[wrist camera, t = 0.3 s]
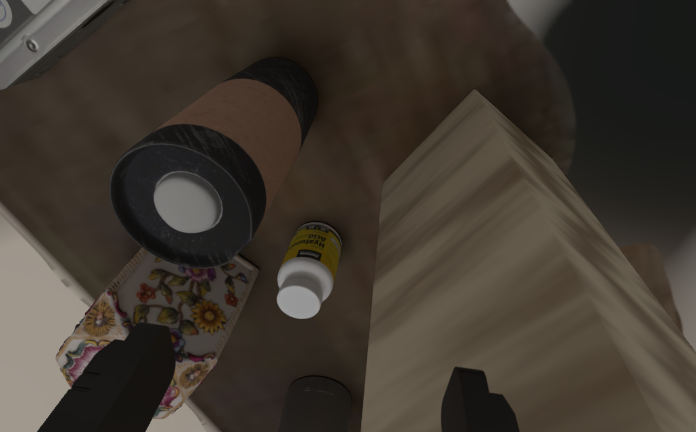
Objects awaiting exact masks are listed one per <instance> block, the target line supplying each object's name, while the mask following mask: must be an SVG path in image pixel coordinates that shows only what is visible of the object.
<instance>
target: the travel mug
mask: <svg viewBox="0 0 696 432" xmlns="http://www.w3.org/2000/svg"><path fill="white" fill-rule="evenodd" d="M317 105H318V98H317V92H316V88H315V86H314V83H313V82H312V80H311V78H310V77H309V75H308V74H307V73H306V72H305V71H304V70H303V69H302V68H301V67H300V66H298V65H297V64H295V63H293V62H291V61H289V60H286V59H282V58H267V59H263V60H261V61H258V62H256V63H254V64H253V65H251V66H249V67H247V68H246V69H244V70H242V71H241V72H239V73H237V74H236V75H234V76H232V77H230V78H229V79H227V80H225V81H224V82H222V83H220V84H219V85H217V86H215V87H214V88H213V89H211V90H210V91H208V92H207V93H206V94H204V95H203V96H202V97H200V98H199V99H198V100H196V101H195V102H193V103H192V104H191V105H189V106H188V107H187V108H185V109H184V110H182V111H181V112H180V113H178V114H177V115H176V116H174V117H173V118H171V119H170V120H169V121H167V122H166V123H165V124H163V125H162V126H160V127H159V128H158V129H156V130H155V131H154V132H152V133H151V134H149V135H148V136H147V137H145V138H144V139H143V140H141V141H140V142H138V143H137V144H136V145H134V146H133V147H132V148H130V149H129V150H128V151H127V152H126V153H124V154H123V155H122V157H121V158H120V159H119V160H118V161H117V163H116V165H115V167H114V168H113V171H112V174H111V177H110V183H109V194H110V200H111V204H112V207H113V210H114V212H115V215H116V217H117V219H118V220H119V222H120V224H121V225H122V227H123V228H124V229H125V231H126V232H127V233H128V234H129V236H130V237H131V238H132V239H133V240H134V241H135V242H136V243H138V244H139V245H140V246H141V247H142V248H144V249H145V250H146V251H148V252H149V253H151V254H152V255H154V256H156V257H158V258H160V259H162V260H164V261H166V262H169V263H171V264H174V265H178V266H182V267H187V268H195V269H207V268H215V267H219V266H223V265H225V264H227V263H228V262H229V261H230V260H232V259H233V258H234V257H235V256H236V255H237V254H238V253H239V252H240V251H241V250H243V249H244V248H245V247H246V246H247V244H248V243H249V242H250V241H251V240H252V239H253V237H254V234H255V232H256V230H257V228H258V227H259V225H260V223H261V221H262V219H263V217H264V216H265V214H266V212H267V210H268V208H269V207H270V205H271V203H272V201H273V199H274V198H275V196H276V194H277V192H278V190H279V189H280V187H281V185H282V183H283V181H284V180H285V178H286V176H287V174H288V172H289V171H290V169H291V167H292V165H293V163H294V162H295V160H296V158H297V156H298V154H299V151H300V149H301V147H302V145H303V142H304V140H305V138H306V136H307V133H308V131H309V129H310V127H311V124H312V122H313V120H314V117H315V114H316V111H317Z"/></svg>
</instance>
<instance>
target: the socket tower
mask: <svg viewBox="0 0 696 432" xmlns="http://www.w3.org/2000/svg"><path fill="white" fill-rule="evenodd" d="M456 366H457V367H464V368H471V369H478V370H483V371H484V372H485V375H486V378H487V383H488V388H489V392H490V393H496V394H503V396H504V397H505V399H506V400H507V402H508V403H509V405H510V407H511V408H512V410H513V411H514V413H515V415H516V419H517V423H518V427H519V431H520V432H696V352H695V350H694V349H693V348H692V346H691V345H690V344H689V342H688V341H687V340H686V338H685V337H684V336H683V334H682V333H681V332H680V330H679V329H678V328H677V326H676V325H675V323H674V322H673V321H672V319H671V318H670V317H669V315H668V314H667V313H666V311H665V310H664V309H663V307H662V306H661V305H660V303H659V302H658V301H657V299H656V298H655V297H654V295H653V294H652V293H651V291H650V290H649V288H648V287H647V286H646V284H645V283H644V282H643V280H642V279H641V278H640V276H639V275H638V274H637V272H636V271H635V270H634V268H633V267H632V266H631V264H630V263H629V262H628V260H627V259H626V257H625V256H624V255H623V253H622V252H621V251H620V249H619V248H618V247H617V245H616V244H615V243H614V241H613V240H612V239H611V237H610V236H609V235H608V233H607V232H606V231H605V229H604V228H603V227H602V225H601V224H600V222H598V220H597V219H596V217H595V216H594V215H593V213H592V212H591V210H590V209H589V208H588V206H587V205H586V204H585V202H584V201H583V200H582V198H581V197H580V196H579V194H578V193H577V191H576V190H575V189H574V187H573V186H572V185H571V183H570V182H569V181H568V179H567V178H566V177H565V175H564V174H563V173H562V171H561V170H560V169H559V167H558V166H557V165H556V163H555V162H554V160H553V159H552V158H551V157H550V156H548V155H547V154H546V153H545V152H544V151H543V150H542V149H541V148H540V147H539V146H537V145H536V144H535V143H534V142H533V141H532V140H531V139H530V138H529V137H527V136H526V135H525V134H524V133H523V132H522V131H521V130H520V129H519V128H518V127H516V126H515V125H514V124H513V123H512V122H511V121H510V120H509V119H508V118H507V117H505V116H504V115H503V114H502V113H501V112H500V111H499V110H498V109H497V108H495V107H494V106H493V105H492V104H491V103H490V102H489V101H488V100H487V99H486V98H484V97H483V96H482V95H481V94H480V93H479V92H478V91H477V90H476V89H475V88H474V89H473V90H472V91H471V92H470V93H469V94H468V95H467V96H466V97H465V99H464V100H463V101H462V102H461V103H460V104H459V105H458V106H457V107H456V108H455V109H454V110H453V111H452V112H451V113H450V114H449V115H448V116H447V117H446V118H445V119H444V120H443V121H442V122H441V123H440V124H439V125H438V127H437V128H436V129H435V130H434V131H433V132H432V133H431V134H430V135H429V136H428V137H427V138H426V139H425V140H424V141H423V142H422V143H421V144H420V145H419V146H418V147H417V148H416V149H415V150H414V151H413V152H412V154H411V155H410V156H409V157H408V158H407V159H406V160H405V161H404V162H403V163H402V164H401V165H400V166H399V167H398V168H397V169H396V170H395V171H394V172H393V173H392V174H391V175H390V176H389V177H388V178H387V179H386V180H385V182H384V183H383V184H382V196H381V207H380V218H379V230H378V241H377V253H376V264H375V275H374V287H373V298H372V310H371V321H370V333H369V344H368V355H367V367H366V378H365V390H364V401H363V412H362V424H361V432H442V429H441V406H442V400H443V397H444V394H445V391H446V388H447V386H448V383H449V380H450V377H451V374H452V372H453V369H454V367H456Z"/></svg>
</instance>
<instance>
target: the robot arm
mask: <svg viewBox="0 0 696 432" xmlns="http://www.w3.org/2000/svg"><path fill="white" fill-rule="evenodd" d="M175 367H176V359H175V354H174V349H173V344H172V339H171V334H170V329H169V327H168V326H165V325H158V324H151V323H144V322H139V323H137V324H136V325H135V326H134V327H133V329H132V330H131V332H130V333H129V334H128V336H127V337H126V339H125V340H118V339H114V340H113V341H112V342H110V343H109V344H108V345H106V346H105V347H104V348H102V349H101V350H100V351H98V352H97V353H96V354H95V355H94V357H93V358H92V359H91V361H90V362H89V363H88V365H87V366H86V367H85V369H84V370H83V373H82V375H79V377H78V378H77V379H76V381H75V382H74V383H73V385H72V388H71V389H70V390H68V391H67V393H66V394H65V395H64V397H63V398H62V399H61V401H60V402H59V404H58V405H57V406H56V407H55V409H54V410H53V411H52V413H51V414H50V415H49V417H48V418H47V419H46V421H45V422H44V423H43V425H42V426H41V427H40V429H39V430H38V431H37V432H145V431H146V430H147V428H148V426H149V424H150V422H151V420H152V418H153V416H154V414H155V412H156V411H157V409H158V407H159V405H160V403H161V401H162V399H163V397H164V395H165V393H166V392H167V390H168V388H169V386H170V384H171V382H172V379H173V376H174V373H175ZM351 403H352V401H351V396H350V393H349V392H348V391H347V389H346V388H345V387H343V386H342V385H341V384H339V383H337V382H336V381H333V380H331V379H327V378H323V377H305V378H301V379H299V380H297V381H295V382H293V383H292V384H291V386H290V387H289V390H288V393H287V397H286V401H285V404H284V408H283V412H282V415H281V419H280V423H279V427H278V431H277V432H348V429H349V420H350V411H351ZM441 429H442V432H520V431H519V427H518V423H517V419H516V415H515V413H514V411H513V410H512V408H511V407H510V405H509V403H508V402H507V400H506V399H505V397H504V396H503V394H496V393H490V392H489V388H488V383H487V378H486V375H485V372H484V371H483V370H478V369H471V368H464V367H457V366H456V367H454V369H453V372H452V374H451V377H450V380H449V383H448V386H447V388H446V391H445V394H444V397H443V400H442V406H441Z"/></svg>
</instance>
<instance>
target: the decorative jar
mask: <svg viewBox="0 0 696 432" xmlns="http://www.w3.org/2000/svg"><path fill="white" fill-rule="evenodd" d="M258 274H259V270H258V268H256V267H255V266H254V265H252V264H251V263H249V262H248V261H246V260H245V259H243V258H242V257H241V256H239V255H238V254H237V255H236V256H235V257H234V258H233V259H232V260H230V261H229V262H228V263H227V264H225V265H223V266H219V267H215V268H207V269H195V268H187V267H182V266H178V265H174V264H171V263H169V262H166V261H164V260H162V259H160V258H158V257H156V256H154V255H152V254H151V253H149V252H148V251H146V250H145V249H144V248H141V249H140V250H139V251H138V252H137V254H136V255H135V256H134V257H133V258H132V259H131V260H130V262H129V263H128V264H127V265H126V266H125V267H124V268H123V269H122V270H121V272H120V273H119V274H118V275H117V276H116V278H114V280H113V281H112V282H111V283H110V284H109V286H108V287H107V288H106V289H105V290H104V291H103V292H102V293H101V294H100V296H99V297H98V298H97V299H96V300H95V302H94V303H93V305H92V306H91V307H90V308H89V310H88V311H87V312H86V313H85V317H84V318H83V319H82V320H81V321H80V323H79V324H77V325H76V327H75V330H74V332H73V334H72V335H71V336H70V337H69V338H68V339H66V340H65V341H64V343H63V345H62V346H61V347H60V349H59V352H58V354H57V355H56V361H57V363H58V365H59V366H60V370H61V372H62V373H63V375H64V377H65V379H66V380H67V382H68V384H69V385H70V387H71V388H72V385H73V383H74V382H75V381H76V379H77V378H78V377H79V375H82V373H83V370H84V369H85V367H86V366H87V365H88V363H89V362H90V361H91V359H92V358H93V357H94V355H95V354H96V353H97V352H98V351H100V350H101V349H102V348H104V347H105V346H106V345H108V344H109V343H110V342H112V341H113V340H114V339H118V340H125V339H126V337H127V336H128V334H129V333H130V332H131V330H132V329H133V327H134V326H135V325H136V324H137V323H139V322H144V323H151V324H158V325H165V326H168V327H169V329H170V334H171V339H172V344H173V349H174V354H175V359H176V367H175V373H174V376H173V379H172V382H171V384H170V386H169V388H168V390H167V392H166V393H165V395H164V397H163V399H162V401H161V403H160V405H159V407H158V409H157V411H156V412H155V414H154V416H153V418H152V419H163V418H166V417H168V416H169V415H170V414H172V413H174V412H175V411H176V410H177V409H179V408H180V407H181V406H182V404H183V403H184V402H185V401H186V399H187V398H188V397H189V396H190V395H191V394H192V393H194V390H195V388H196V387H197V386H199V385H200V384H201V383H202V382H203V380H204V379H205V377H206V376H207V374H208V373H209V372H210V370H211V369H212V368H214V367H215V366H216V363H217V361H218V358H219V356H220V354H221V352H222V350H223V347H224V346H225V343H226V342H227V340H228V338H229V336H230V334H231V332H232V330H233V328H234V326H235V323H236V321H237V320H238V317H239V315H240V313H241V311H242V309H243V307H244V305H245V303H246V300H247V298H248V296H249V294H250V292H251V289H252V287H253V284H254V282H255V280H256V278H257V276H258Z"/></svg>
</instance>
